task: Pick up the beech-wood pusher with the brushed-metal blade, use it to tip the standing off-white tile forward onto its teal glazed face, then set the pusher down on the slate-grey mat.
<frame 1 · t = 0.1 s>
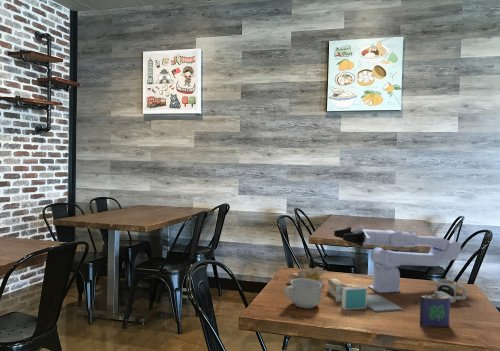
hand: (338, 235, 160), 22 cm above the table, tool horizontal, fingers open, 7 cm apart
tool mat: (376, 303, 149), on the table
pusher: (337, 295, 156), on the table
flask: (434, 326, 129), on the table
mug: (450, 301, 154), on the table
decorative flower: (308, 284, 171), on the table
tile: (354, 308, 144), on the table
teacup: (301, 306, 145), on the table
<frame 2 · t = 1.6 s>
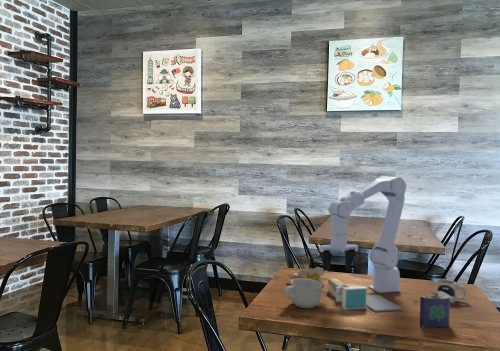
hand: (338, 270, 156), 9 cm above the table, tool pointing down, fingers open, 7 cm apart
nothing on the table moved.
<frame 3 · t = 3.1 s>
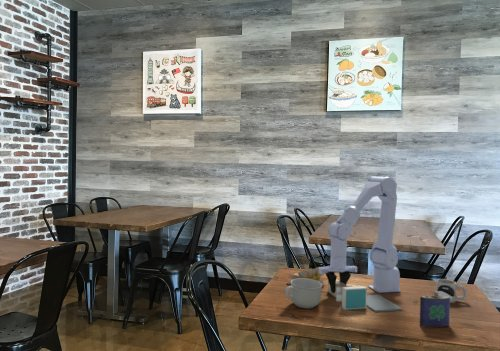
hand: (337, 291, 156), 1 cm above the table, tool pointing down, fingers closed on pusher, 3 cm apart
pusher: (337, 295, 156), on the table, touching gripper
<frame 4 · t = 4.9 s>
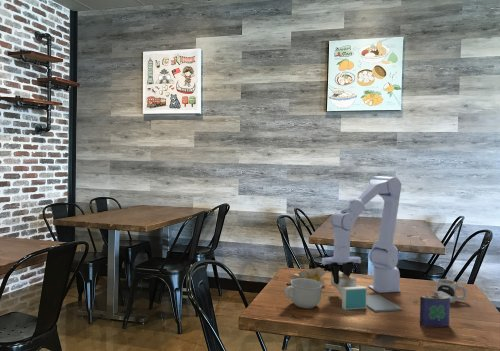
hand: (340, 283, 154), 5 cm above the table, tool pointing down, fingers closed on pusher, 3 cm apart
pusher: (340, 288, 154), point 4 cm above the table, touching gripper
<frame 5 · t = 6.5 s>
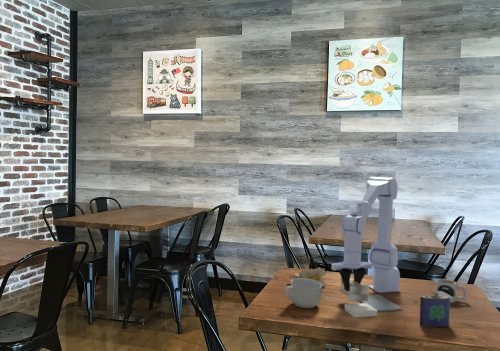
hand: (351, 290, 146), 5 cm above the table, tool pointing down, fingers closed on pusher, 3 cm apart
pusher: (350, 295, 146), point 3 cm above the table, touching gripper
tile: (355, 306, 143), point 1 cm above the table, tilted 90°
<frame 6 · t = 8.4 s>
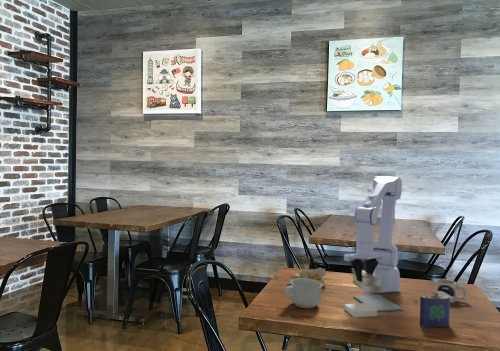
hand: (363, 280, 147), 8 cm above the table, tool pointing down, fingers closed on pusher, 3 cm apart
pusher: (363, 287, 148), point 6 cm above the table, touching gripper
when the fingers open (4 cm above the table, at t = 9.9 s): pusher stays where it is, resting on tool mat.
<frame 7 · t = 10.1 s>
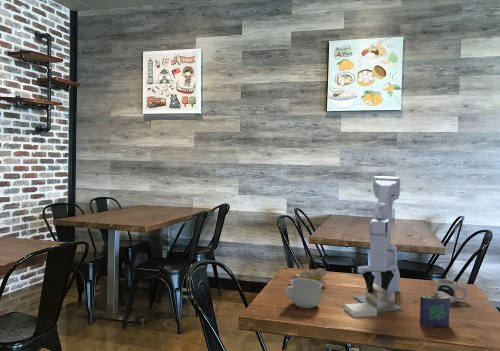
hand: (377, 292, 148), 4 cm above the table, tool pointing down, fingers open, 5 cm apart
pusher: (376, 302, 148), point 1 cm above the table, touching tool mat
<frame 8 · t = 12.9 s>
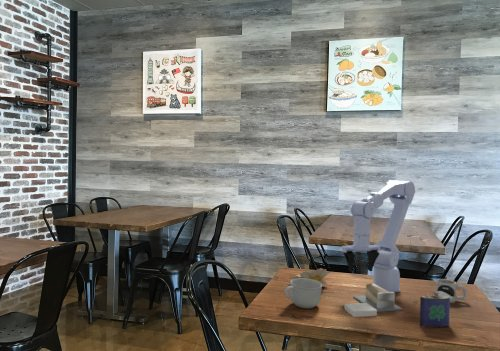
hand: (360, 270, 156), 9 cm above the table, tool pointing down, fingers open, 7 cm apart
at the end: tile tilted 90°; tile inside the target area (3.0 cm from its centre), point 0.8 cm above the table; pusher inside the target area on the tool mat (0.1 cm from its centre), point 0.6 cm above the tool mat's base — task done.
